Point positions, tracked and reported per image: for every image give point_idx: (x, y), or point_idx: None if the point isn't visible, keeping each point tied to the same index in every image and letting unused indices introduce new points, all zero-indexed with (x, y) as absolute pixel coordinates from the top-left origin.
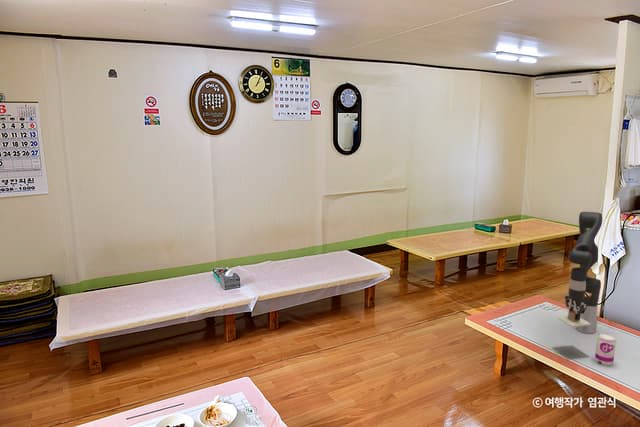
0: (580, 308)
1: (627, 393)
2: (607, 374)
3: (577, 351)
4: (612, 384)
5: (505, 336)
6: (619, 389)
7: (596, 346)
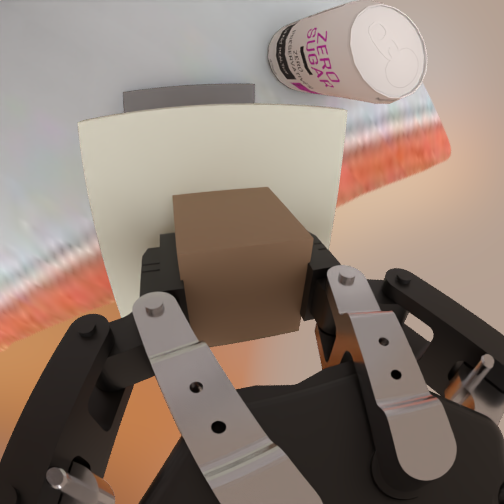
0: (431, 380)
1: (441, 152)
2: (368, 116)
3: (190, 105)
4: (408, 154)
5: (42, 326)
6: (426, 156)
7: (322, 87)
